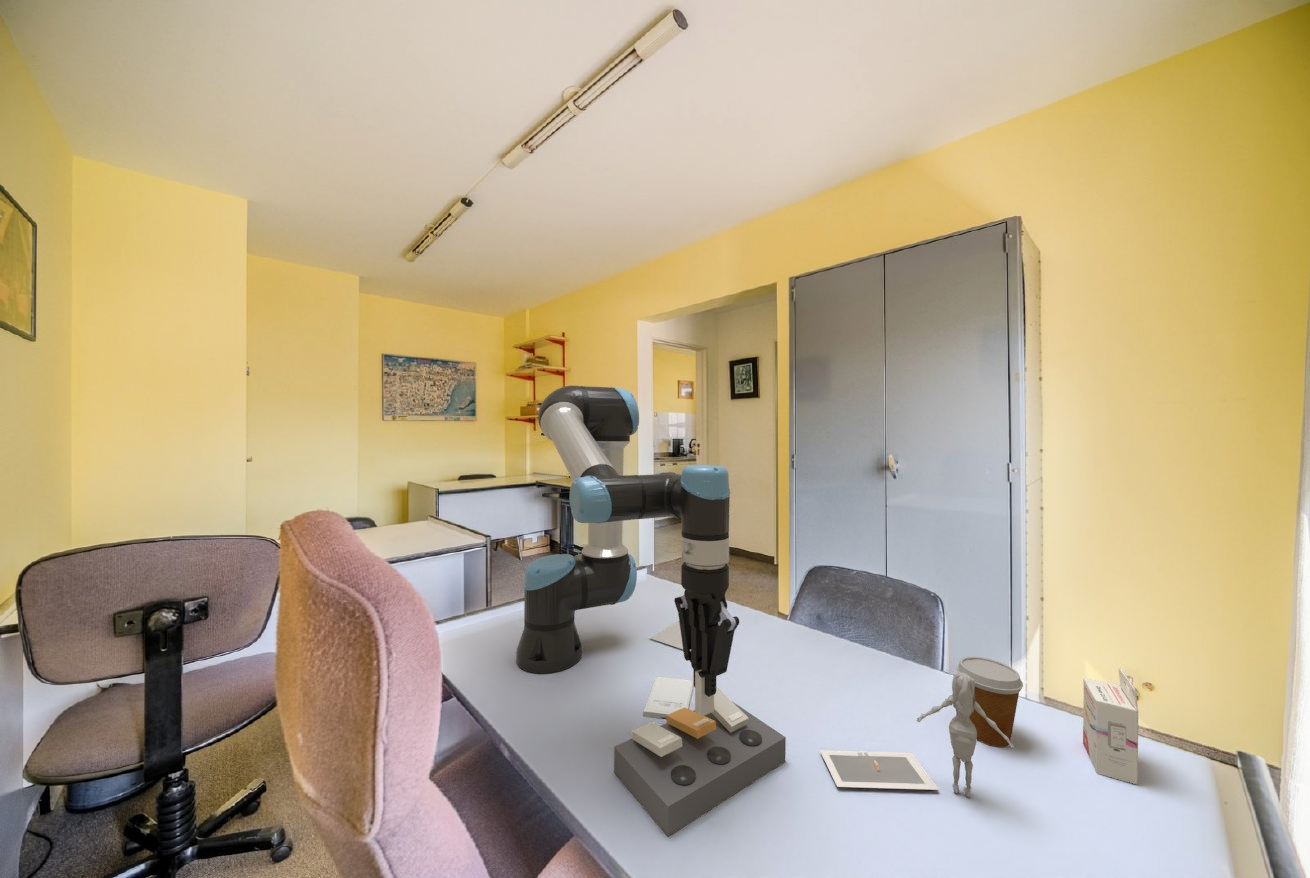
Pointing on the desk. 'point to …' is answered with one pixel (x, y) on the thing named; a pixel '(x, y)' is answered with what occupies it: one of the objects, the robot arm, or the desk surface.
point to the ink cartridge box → (1111, 728)
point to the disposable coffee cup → (993, 697)
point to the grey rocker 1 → (656, 739)
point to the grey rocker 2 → (728, 712)
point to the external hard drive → (668, 697)
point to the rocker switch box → (698, 769)
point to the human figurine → (963, 726)
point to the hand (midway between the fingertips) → (704, 711)
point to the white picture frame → (877, 770)
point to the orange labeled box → (691, 722)
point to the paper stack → (670, 636)
